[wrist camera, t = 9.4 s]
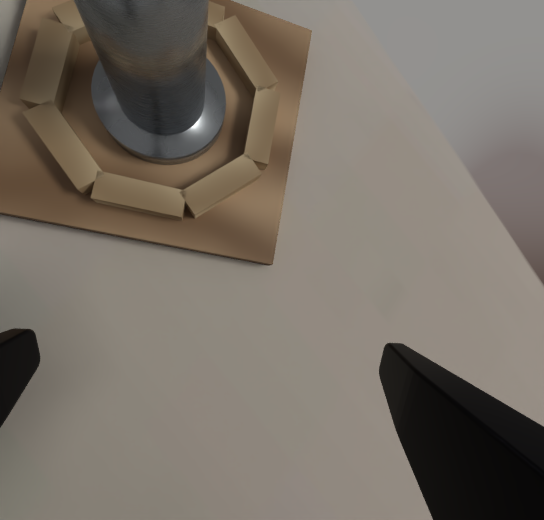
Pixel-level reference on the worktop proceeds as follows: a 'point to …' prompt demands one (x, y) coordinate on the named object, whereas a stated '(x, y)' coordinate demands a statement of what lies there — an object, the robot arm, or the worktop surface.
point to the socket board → (140, 174)
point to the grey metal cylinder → (155, 77)
